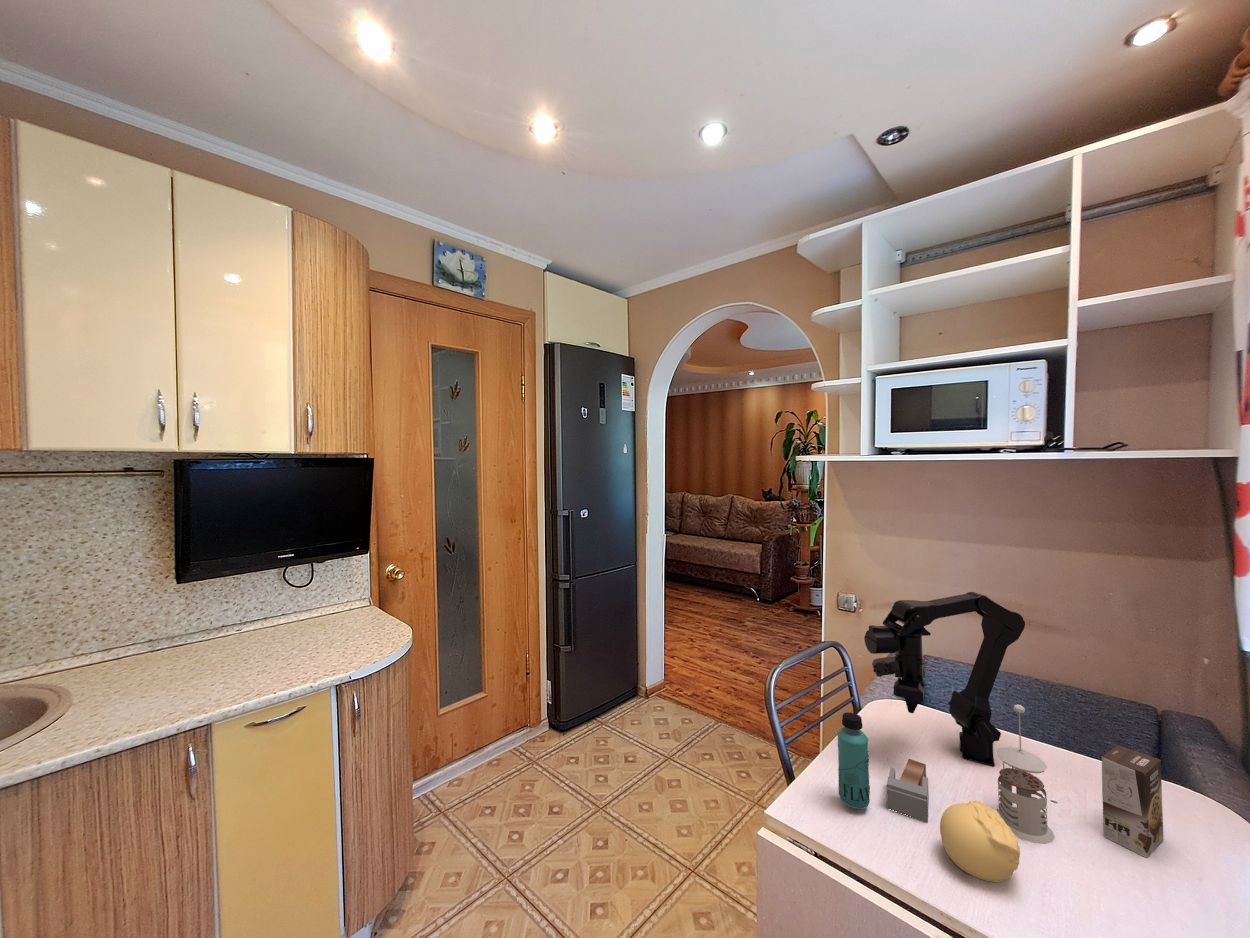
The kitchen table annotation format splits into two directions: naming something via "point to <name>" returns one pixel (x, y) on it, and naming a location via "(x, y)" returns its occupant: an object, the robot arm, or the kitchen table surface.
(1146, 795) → the coffee box
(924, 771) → the slat
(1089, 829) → the kitchen table surface
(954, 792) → the kitchen table surface
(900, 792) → the endcap
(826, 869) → the kitchen table surface
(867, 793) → the beverage bottle
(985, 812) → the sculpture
